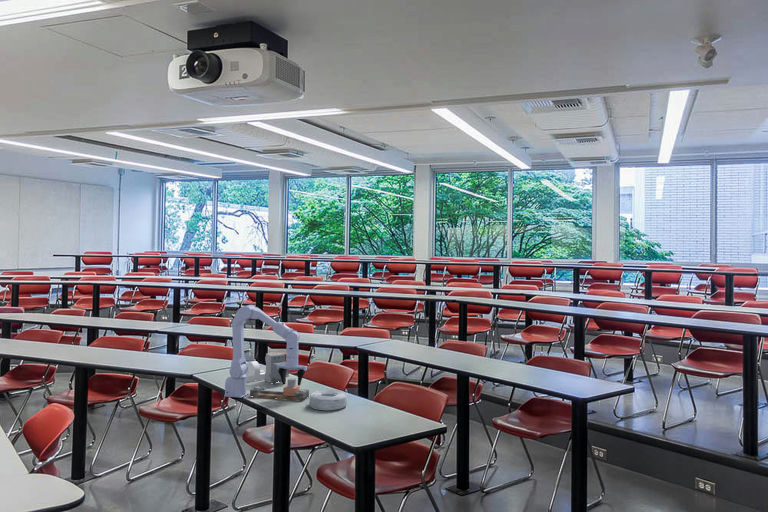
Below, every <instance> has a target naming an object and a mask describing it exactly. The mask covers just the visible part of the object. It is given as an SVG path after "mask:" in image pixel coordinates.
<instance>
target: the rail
mask: <svg viewBox="0 0 768 512" xmlns="http://www.w3.org/2000/svg"><path fill="white" fill-rule="evenodd" d="M265 388H266V387H265V386H262V385H256V386H254V387H252V388H251V389H249V397H250V396H253V397H252V398H256V397H261V398H260V399H269V398H277V399H276V400H281V399H289V400H288V401H294V400H300V401H299V402H304V401H306V400H307V399H308V398H310V390H309V389H306V388H304V389H303V388H302V389H299V391H298V392H296V393H295V396H286V395H283V391H278V390H265ZM307 397H308V398H307ZM306 398H307V399H306ZM305 399H306V400H305Z"/></svg>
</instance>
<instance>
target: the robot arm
mask: <svg viewBox="0 0 768 512" xmlns="http://www.w3.org/2000/svg"><path fill="white" fill-rule="evenodd" d="M251 319H252V320H259V321H261V322H263V323H264V324H266V325H268V326H269V327H271V329H272V331H273V333H275V334H276V335H277V336H279V337H281V338H282V339H284V340H285V342H286V349H285V350H286V352H285V353H286V354H285V362H286V364H278V365H277V369H279V370H278V372H279V374H280V376H281V379H282V383H281V384H282V385H285V384H286V380H287V379H286V378H287V377H286V370H287V369H289V371H292V370H295V371H296V374H297V386H301V385H302V384H301V383H302V380H303V377H304V374H305V373H306V371H307V370H308V366H307V365H301V364H299V341H300V339H301V338H300V337H301V335H300V332H299V331H297V330H294V329H293V328H292V327H291V328H290V327H289V326H287V325H286V323H285V322H283V321H282V322H281V321H276V320H274V319H273V318H272V317H270V316H269V315H268V314H267V313H265V312H264V311H263V310H262V309H261V308H259V307H257V306H255V305H254V304H248V305H244V306H241V307H240V308H238V309H237V310H236V314H235V316H234V317H233V319H232V322H231V325H232V326H231V328H232V332H231V333H232V360H231V363H230V368H229V369H228V370H229V371H228V372H229V375H230V376H227V377H226V379H225V383H224V395H223V396H224V397H227V398H228V397H230V398H239V399H240V398H241V399H243V398H244V397H246V396H248V395H250V392H247V383H246V372H247V371H248V365H247V359H246V357H245V338H244V337H245V335H244V334H245V332H244V330H245V329H244V325H245V324H246V322H248V321H249V320H251ZM247 394H248V395H247ZM243 395H244V397H243ZM245 395H246V396H245ZM242 397H243V398H242Z"/></svg>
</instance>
